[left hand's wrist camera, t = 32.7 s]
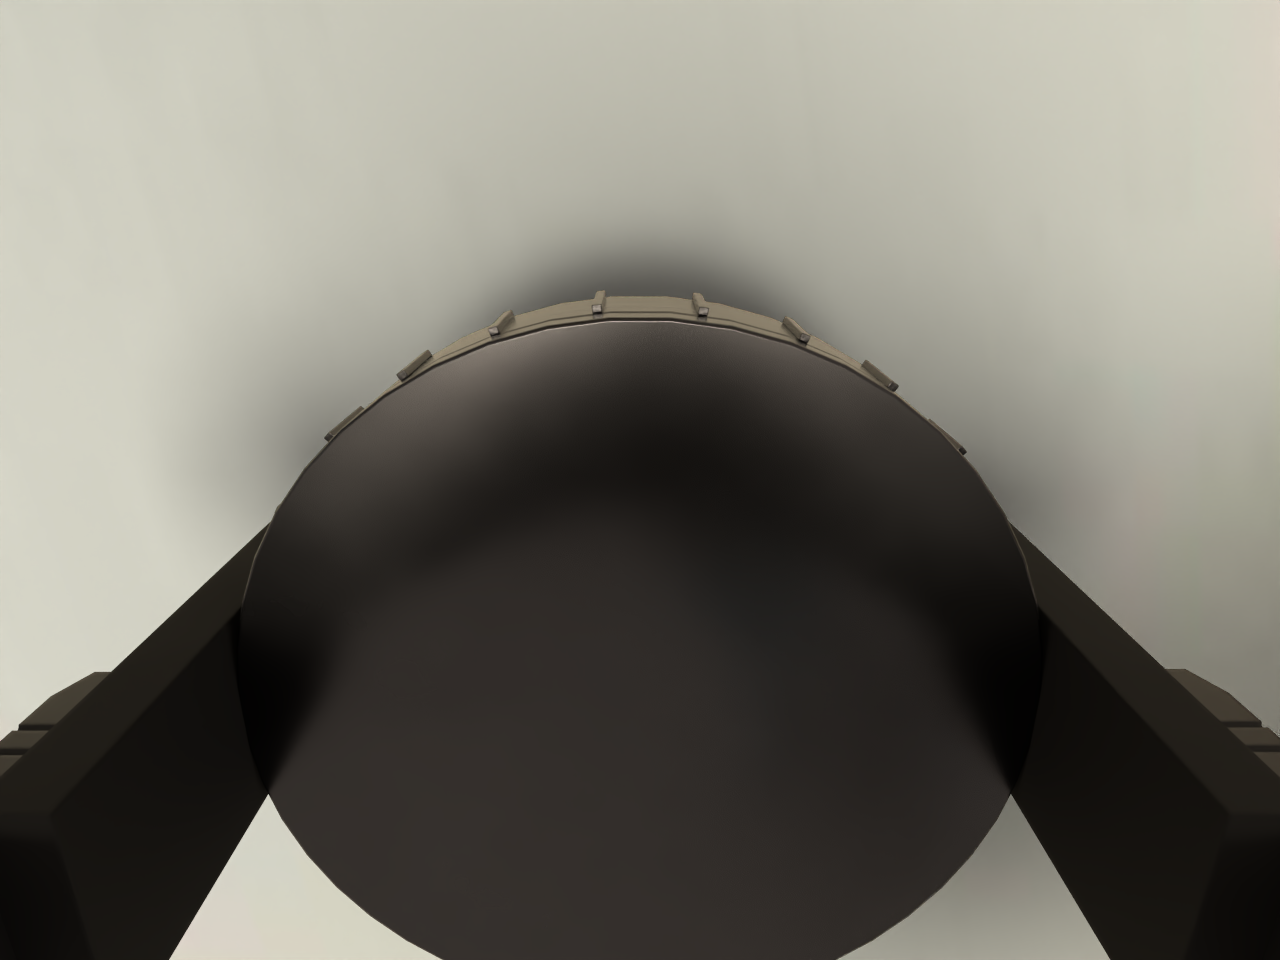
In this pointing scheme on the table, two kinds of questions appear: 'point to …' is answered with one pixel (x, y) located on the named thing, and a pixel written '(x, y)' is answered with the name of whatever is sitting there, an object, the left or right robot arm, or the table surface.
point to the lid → (639, 644)
